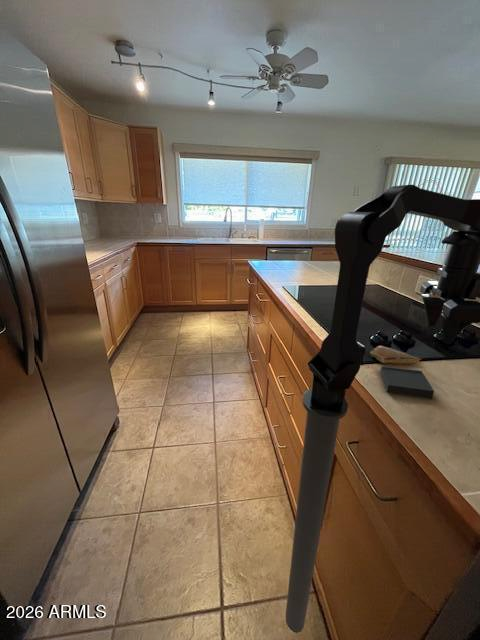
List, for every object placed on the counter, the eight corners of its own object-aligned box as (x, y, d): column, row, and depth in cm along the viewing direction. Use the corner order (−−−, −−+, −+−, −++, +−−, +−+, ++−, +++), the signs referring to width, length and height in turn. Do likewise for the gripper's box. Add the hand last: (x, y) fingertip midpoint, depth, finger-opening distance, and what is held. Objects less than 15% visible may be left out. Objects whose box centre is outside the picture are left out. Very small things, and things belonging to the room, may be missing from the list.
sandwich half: (420, 363, 70) (422, 357, 69) (410, 375, 65) (412, 369, 65) (379, 348, 78) (380, 343, 77) (367, 358, 73) (368, 352, 72)
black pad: (386, 392, 60) (388, 384, 59) (379, 372, 67) (381, 365, 66) (431, 398, 57) (434, 391, 57) (419, 377, 64) (421, 370, 64)
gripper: (542, 279, 43) (506, 360, 50) (483, 259, 60) (462, 321, 66) (462, 276, 46) (438, 352, 53) (427, 257, 63) (412, 317, 69)
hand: (438, 334), depth 60 cm, fingers open, 9 cm apart
